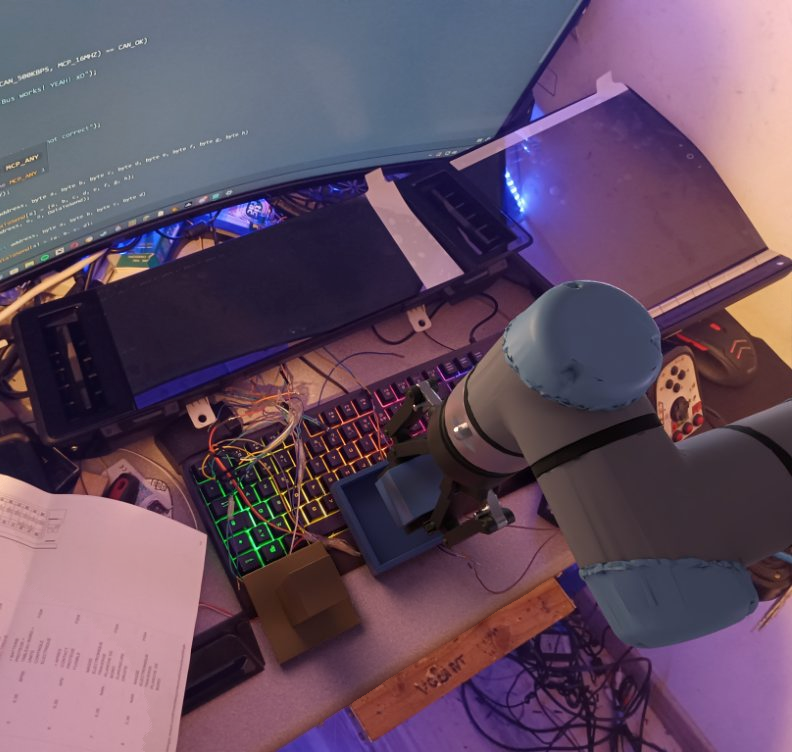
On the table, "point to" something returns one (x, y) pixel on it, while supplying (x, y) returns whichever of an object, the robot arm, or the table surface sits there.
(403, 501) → the blue block
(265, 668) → the table surface
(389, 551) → the navy tray
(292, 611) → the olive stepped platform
